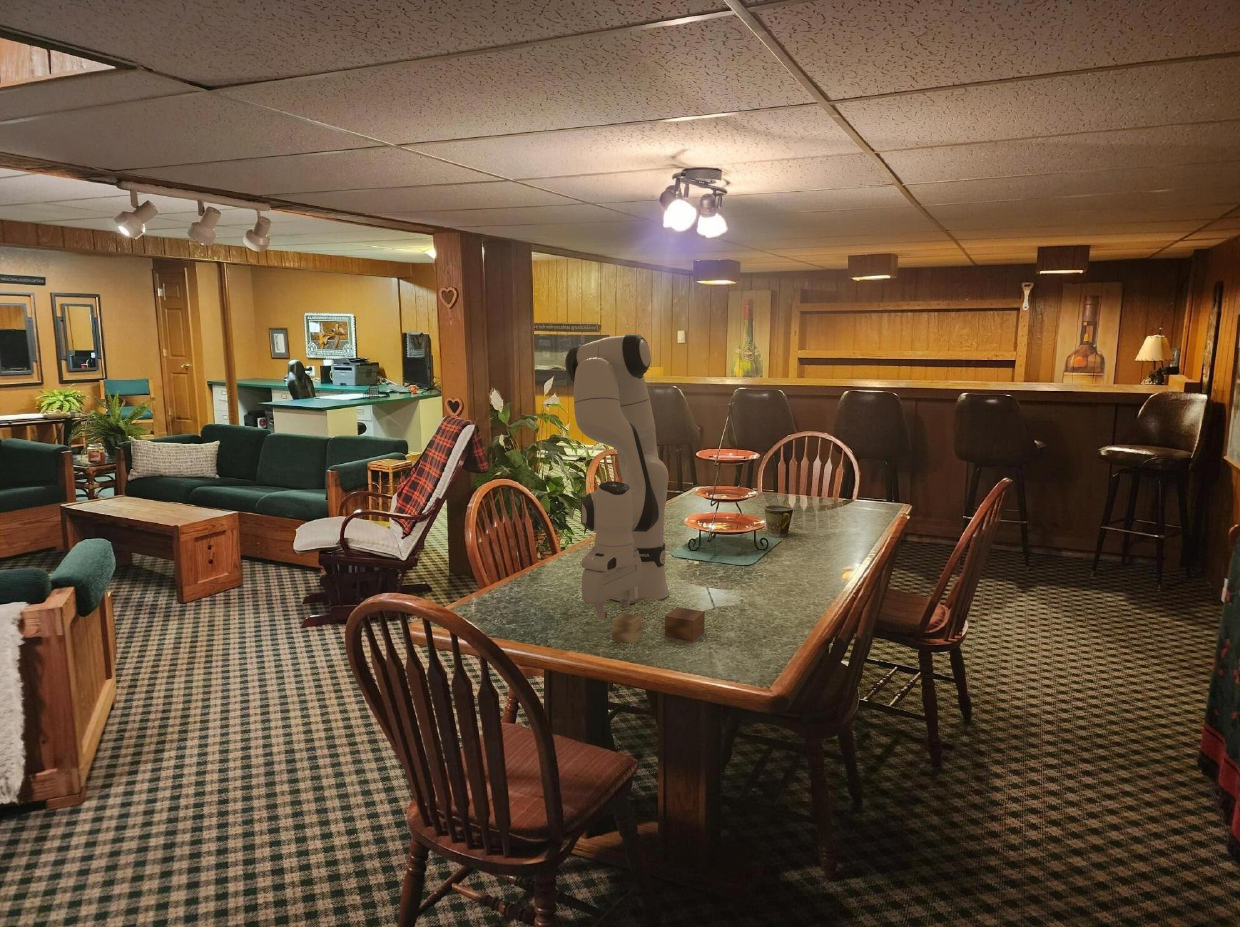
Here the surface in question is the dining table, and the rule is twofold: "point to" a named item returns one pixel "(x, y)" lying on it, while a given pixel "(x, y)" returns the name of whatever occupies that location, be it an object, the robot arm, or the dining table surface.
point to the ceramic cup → (778, 519)
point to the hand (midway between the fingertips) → (613, 613)
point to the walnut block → (684, 624)
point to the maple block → (626, 628)
